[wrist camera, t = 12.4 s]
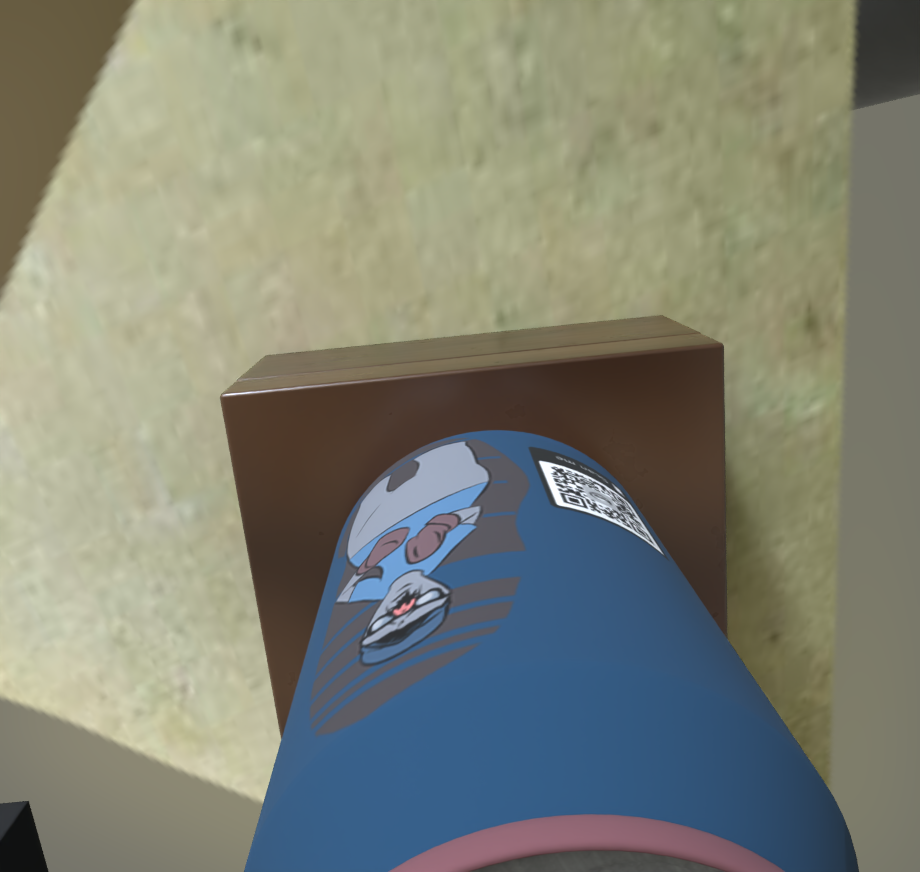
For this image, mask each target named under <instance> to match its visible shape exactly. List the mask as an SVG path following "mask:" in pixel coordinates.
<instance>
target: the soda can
mask: <svg viewBox="0 0 920 872" xmlns="http://www.w3.org/2000/svg"><path fill="white" fill-rule="evenodd" d="M244 872H859V869H858V864H857V858H856V854H855V850H854V847H853V843H852V839H851V836H850V833H849V830H848V828H847V825H846V822H845V820H844V817H843V815H842V813H841V811H840V809H839V807H838V805H837V803H836V801H835V799H834V797H833V795H832V794H831V792H830V790H829V789H828V787H827V786H826V784H825V783H824V781H823V779H822V778H821V776H820V775H819V773H818V772H817V770H816V769H815V768H814V766H813V765H812V763H811V762H810V760H809V759H808V757H807V756H806V754H805V753H804V751H803V750H802V748H801V747H800V745H799V744H798V742H797V741H796V740H795V738H794V737H793V735H792V734H791V732H790V731H789V729H788V728H787V726H786V725H785V723H784V722H783V720H782V719H781V717H780V716H779V715H778V713H777V712H776V710H775V709H774V707H773V706H772V704H771V703H770V701H769V700H768V698H767V697H766V695H765V694H764V692H763V691H762V690H761V688H760V687H759V685H758V684H757V682H756V681H755V679H754V678H753V676H752V675H751V673H750V672H749V670H748V669H747V667H746V666H745V664H744V663H743V662H742V660H741V659H740V657H739V656H738V654H737V653H736V651H735V650H734V648H733V647H732V645H731V644H730V642H729V641H728V639H727V638H726V637H725V635H724V634H723V632H722V631H721V629H720V628H719V626H718V625H717V623H716V622H715V620H714V619H713V617H712V616H711V614H710V613H709V612H708V610H707V609H706V607H705V606H704V604H703V603H702V601H701V600H700V598H699V597H698V595H697V594H696V592H695V591H694V589H693V588H692V586H691V585H690V584H689V582H688V581H687V579H686V578H685V576H684V575H683V573H682V572H681V570H680V569H679V567H678V566H677V564H676V563H675V561H674V560H673V559H672V557H671V556H670V554H669V553H668V551H667V550H666V548H665V547H664V545H663V544H662V542H661V541H660V539H659V538H658V536H657V535H656V534H655V532H654V531H653V529H652V528H651V526H650V525H649V523H648V522H647V520H646V519H645V517H644V516H643V514H642V513H641V511H640V510H639V509H638V507H637V506H636V504H635V503H634V501H633V500H632V498H631V497H630V495H629V494H628V493H627V491H626V490H625V489H624V488H623V486H622V485H621V484H620V483H619V482H618V481H617V480H616V479H615V478H614V477H613V476H612V475H611V474H610V473H609V472H608V471H607V470H606V469H605V468H603V467H602V466H601V465H599V464H598V463H597V462H596V461H594V460H593V459H591V458H590V457H588V456H587V455H585V454H583V453H582V452H580V451H578V450H576V449H574V448H572V447H570V446H568V445H566V444H564V443H561V442H559V441H556V440H553V439H550V438H547V437H543V436H540V435H536V434H531V433H525V432H518V431H506V430H489V431H477V432H469V433H464V434H459V435H455V436H451V437H447V438H444V439H441V440H438V441H436V442H433V443H430V444H428V445H426V446H424V447H421V448H419V449H417V450H416V451H414V452H412V453H410V454H408V455H407V456H405V457H404V458H402V459H401V460H399V461H397V462H396V463H395V464H394V465H392V466H391V467H390V468H388V469H387V470H386V471H385V472H384V473H383V474H381V475H380V476H379V477H378V478H377V479H376V480H375V481H374V482H373V483H372V484H371V485H370V486H369V488H368V489H367V490H366V491H365V492H364V494H363V495H362V496H361V497H360V499H359V500H358V502H357V503H356V505H355V506H354V508H353V509H352V511H351V513H350V515H349V516H348V518H347V520H346V522H345V525H344V527H343V529H342V531H341V534H340V537H339V540H338V543H337V546H336V550H335V553H334V557H333V560H332V564H331V567H330V571H329V574H328V578H327V581H326V585H325V588H324V592H323V595H322V599H321V602H320V606H319V609H318V613H317V617H316V620H315V624H314V627H313V631H312V634H311V638H310V641H309V645H308V648H307V652H306V655H305V659H304V662H303V666H302V669H301V673H300V676H299V680H298V683H297V687H296V690H295V694H294V697H293V701H292V704H291V708H290V712H289V715H288V719H287V722H286V726H285V729H284V733H283V736H282V740H281V743H280V747H279V750H278V754H277V757H276V761H275V764H274V768H273V771H272V775H271V778H270V782H269V785H268V789H267V792H266V796H265V799H264V803H263V806H262V810H261V814H260V818H259V821H258V824H257V828H256V831H255V835H254V838H253V842H252V846H251V849H250V852H249V856H248V859H247V863H246V867H245V870H244Z"/></svg>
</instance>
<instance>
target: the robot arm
mask: <svg viewBox="0 0 920 872" xmlns="http://www.w3.org/2000/svg"><path fill="white" fill-rule="evenodd" d="M0 872H48V868H47V865H46V861H45V858H44V854H43V851H42V847H41V843H40V840H39V836H38V833H37V829H36V826H35V822H34V819H33V815H32V812H31V808H30V805H29V801H23V802H12V803H3V804H0Z"/></svg>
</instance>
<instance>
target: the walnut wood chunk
mask: <svg viewBox="0 0 920 872" xmlns="http://www.w3.org/2000/svg"><path fill="white" fill-rule="evenodd" d="M220 400H221V406H222V411H223V417H224V422H225V428H226V434H227V439H228V445H229V450H230V456H231V462H232V467H233V473H234V478H235V484H236V489H237V495H238V501H239V506H240V512H241V517H242V523H243V529H244V534H245V540H246V545H247V551H248V556H249V562H250V568H251V573H252V579H253V584H254V590H255V595H256V601H257V607H258V612H259V618H260V623H261V629H262V635H263V640H264V646H265V651H266V657H267V662H268V668H269V674H270V679H271V685H272V690H273V696H274V702H275V707H276V713H277V718H278V724H279V729H280V735H281V740H282V736H283V733H284V729H285V726H286V722H287V719H288V715H289V712H290V708H291V704H292V701H293V697H294V694H295V690H296V687H297V683H298V680H299V676H300V673H301V669H302V666H303V662H304V659H305V655H306V652H307V648H308V645H309V641H310V638H311V634H312V631H313V627H314V624H315V620H316V617H317V613H318V609H319V606H320V602H321V599H322V595H323V592H324V588H325V585H326V581H327V578H328V574H329V571H330V567H331V564H332V560H333V557H334V553H335V550H336V546H337V543H338V540H339V537H340V534H341V531H342V529H343V527H344V525H345V522H346V520H347V518H348V516H349V515H350V513H351V511H352V509H353V508H354V506H355V505H356V503H357V502H358V500H359V499H360V497H361V496H362V495H363V494H364V492H365V491H366V490H367V489H368V488H369V486H370V485H371V484H372V483H373V482H374V481H375V480H376V479H377V478H378V477H379V476H380V475H381V474H383V473H384V472H385V471H386V470H387V469H388V468H390V467H391V466H392V465H394V464H395V463H396V462H397V461H399V460H401V459H402V458H404V457H405V456H407V455H408V454H410V453H412V452H414V451H416V450H417V449H419V448H421V447H424V446H426V445H428V444H430V443H433V442H436V441H438V440H441V439H444V438H447V437H451V436H455V435H459V434H464V433H469V432H477V431H489V430H506V431H518V432H525V433H531V434H536V435H540V436H543V437H547V438H550V439H553V440H556V441H559V442H561V443H564V444H566V445H568V446H570V447H572V448H574V449H576V450H578V451H580V452H582V453H583V454H585V455H587V456H588V457H590V458H591V459H593V460H594V461H596V462H597V463H598V464H599V465H601V466H602V467H603V468H605V469H606V470H607V471H608V472H609V473H610V474H611V475H612V476H613V477H614V478H615V479H616V480H617V481H618V482H619V483H620V484H621V485H622V486H623V488H624V489H625V490H626V491H627V493H628V494H629V495H630V497H631V498H632V500H633V501H634V503H635V504H636V506H637V507H638V509H639V510H640V511H641V513H642V514H643V516H644V517H645V519H646V520H647V522H648V523H649V525H650V526H651V528H652V529H653V531H654V532H655V534H656V535H657V536H658V538H659V539H660V541H661V542H662V544H663V545H664V547H665V548H666V550H667V551H668V553H669V554H670V556H671V557H672V559H673V560H674V561H675V563H676V564H677V566H678V567H679V569H680V570H681V572H682V573H683V575H684V576H685V578H686V579H687V581H688V582H689V584H690V585H691V586H692V588H693V589H694V591H695V592H696V594H697V595H698V597H699V598H700V600H701V601H702V603H703V604H704V606H705V607H706V609H707V610H708V612H709V613H710V614H711V616H712V617H713V619H714V620H715V622H716V623H717V625H718V626H719V628H720V629H721V631H722V632H723V634H724V635H725V637H726V638H727V564H726V484H725V405H724V346H723V344H722V343H720V342H718V341H716V340H714V339H711V338H709V337H707V336H705V335H703V334H701V333H700V332H698V331H695V330H693V329H691V328H689V327H687V326H684V325H682V324H680V323H678V322H676V321H673V320H671V319H669V318H667V317H665V316H662V315H660V316H650V317H640V318H630V319H620V320H610V321H601V322H591V323H581V324H571V325H561V326H552V327H542V328H532V329H522V330H512V331H502V332H493V333H483V334H473V335H463V336H453V337H443V338H434V339H424V340H414V341H404V342H394V343H384V344H375V345H365V346H355V347H345V348H335V349H325V350H316V351H306V352H296V353H286V354H276V355H267V356H264V357H263V358H262V359H261V360H260V361H259V362H257V363H256V364H255V365H254V366H253V367H252V368H250V369H249V370H248V371H247V372H246V373H245V374H243V375H242V376H241V377H240V378H239V379H238V380H237V381H236V382H235V383H234V384H233V385H232V386H230V387H229V388H228V389H227V390H226V391H225V392H223V393H222V394H221V396H220Z"/></svg>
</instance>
